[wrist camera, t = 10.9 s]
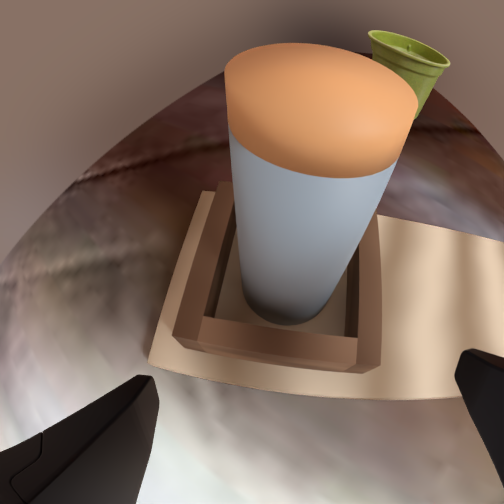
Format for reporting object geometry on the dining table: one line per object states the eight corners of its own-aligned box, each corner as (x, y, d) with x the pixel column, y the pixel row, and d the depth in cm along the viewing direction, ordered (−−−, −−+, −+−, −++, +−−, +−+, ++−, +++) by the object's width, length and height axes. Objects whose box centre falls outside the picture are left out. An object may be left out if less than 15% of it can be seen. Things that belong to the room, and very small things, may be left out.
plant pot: (340, 92, 30) (350, 27, 23) (389, 85, 32) (402, 32, 25) (397, 136, 26) (420, 63, 18) (441, 124, 28) (463, 66, 20)
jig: (505, 250, 18) (527, 228, 15) (524, 387, 12) (555, 376, 9) (204, 200, 21) (197, 164, 18) (153, 366, 15) (128, 352, 12)
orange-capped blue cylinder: (335, 323, 15) (451, 139, 5) (241, 326, 15) (215, 120, 5) (324, 244, 18) (379, 53, 8) (242, 245, 18) (230, 41, 8)
